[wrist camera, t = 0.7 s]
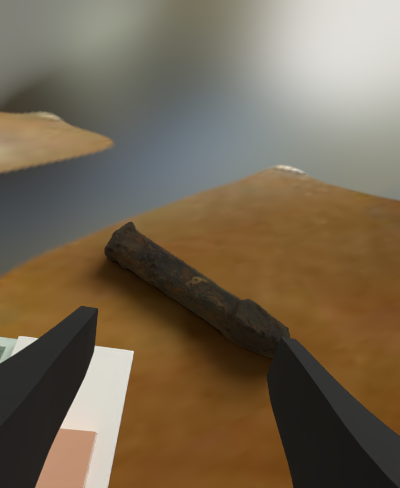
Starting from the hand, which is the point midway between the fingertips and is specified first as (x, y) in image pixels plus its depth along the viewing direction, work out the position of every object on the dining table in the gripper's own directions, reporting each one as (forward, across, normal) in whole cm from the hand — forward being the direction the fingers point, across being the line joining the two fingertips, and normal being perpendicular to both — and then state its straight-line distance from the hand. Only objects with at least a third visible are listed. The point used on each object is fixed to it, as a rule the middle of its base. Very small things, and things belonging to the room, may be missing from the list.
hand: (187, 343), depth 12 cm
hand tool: (+16, -2, +8) cm, 18 cm away
